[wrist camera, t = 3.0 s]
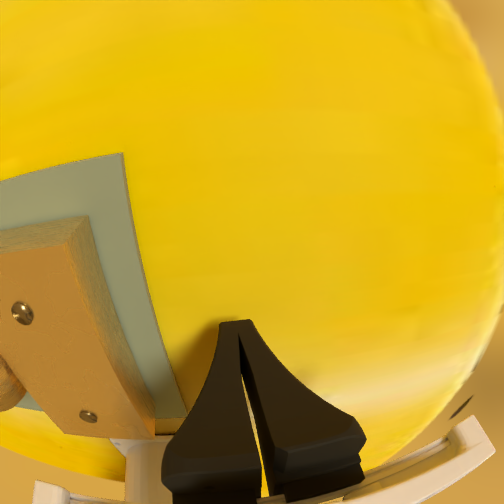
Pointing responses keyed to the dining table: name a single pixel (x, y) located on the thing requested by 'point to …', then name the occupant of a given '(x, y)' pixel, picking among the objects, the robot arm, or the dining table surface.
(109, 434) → the brass leaf
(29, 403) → the felt mat
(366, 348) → the dining table surface
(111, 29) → the dining table surface
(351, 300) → the dining table surface
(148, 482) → the robot arm
